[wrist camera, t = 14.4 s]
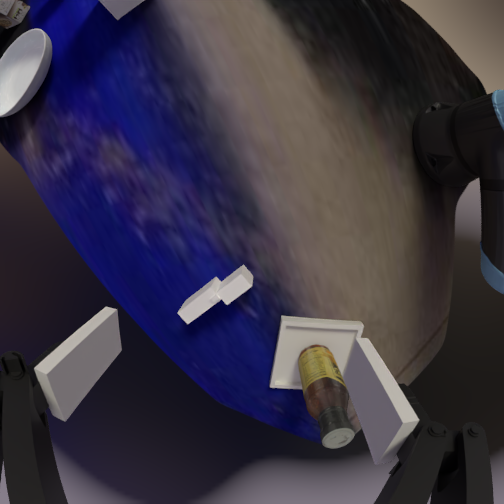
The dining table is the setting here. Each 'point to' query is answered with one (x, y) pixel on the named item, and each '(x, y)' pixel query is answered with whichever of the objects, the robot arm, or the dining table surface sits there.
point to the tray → (306, 334)
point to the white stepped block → (216, 293)
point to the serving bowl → (23, 70)
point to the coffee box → (12, 12)
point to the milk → (120, 6)
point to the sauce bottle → (325, 395)
